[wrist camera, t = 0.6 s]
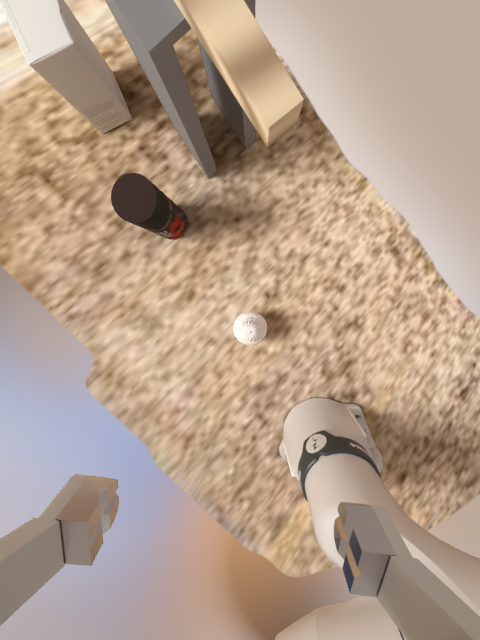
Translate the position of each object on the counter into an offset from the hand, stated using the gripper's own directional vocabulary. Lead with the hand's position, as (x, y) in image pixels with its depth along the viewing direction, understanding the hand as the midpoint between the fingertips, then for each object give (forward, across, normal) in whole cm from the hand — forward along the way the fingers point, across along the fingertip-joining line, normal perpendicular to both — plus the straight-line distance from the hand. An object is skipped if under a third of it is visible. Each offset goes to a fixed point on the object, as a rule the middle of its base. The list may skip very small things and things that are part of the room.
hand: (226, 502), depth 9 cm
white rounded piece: (+40, +2, -4) cm, 41 cm away
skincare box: (+44, -27, +32) cm, 61 cm away
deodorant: (+42, -15, +13) cm, 47 cm away
